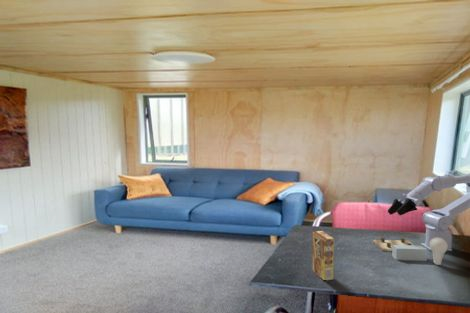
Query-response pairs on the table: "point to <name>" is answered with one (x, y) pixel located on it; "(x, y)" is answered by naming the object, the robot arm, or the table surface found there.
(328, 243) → the candy box
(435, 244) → the lightbulb
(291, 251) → the table surface
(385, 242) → the jig
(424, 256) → the light grey block
